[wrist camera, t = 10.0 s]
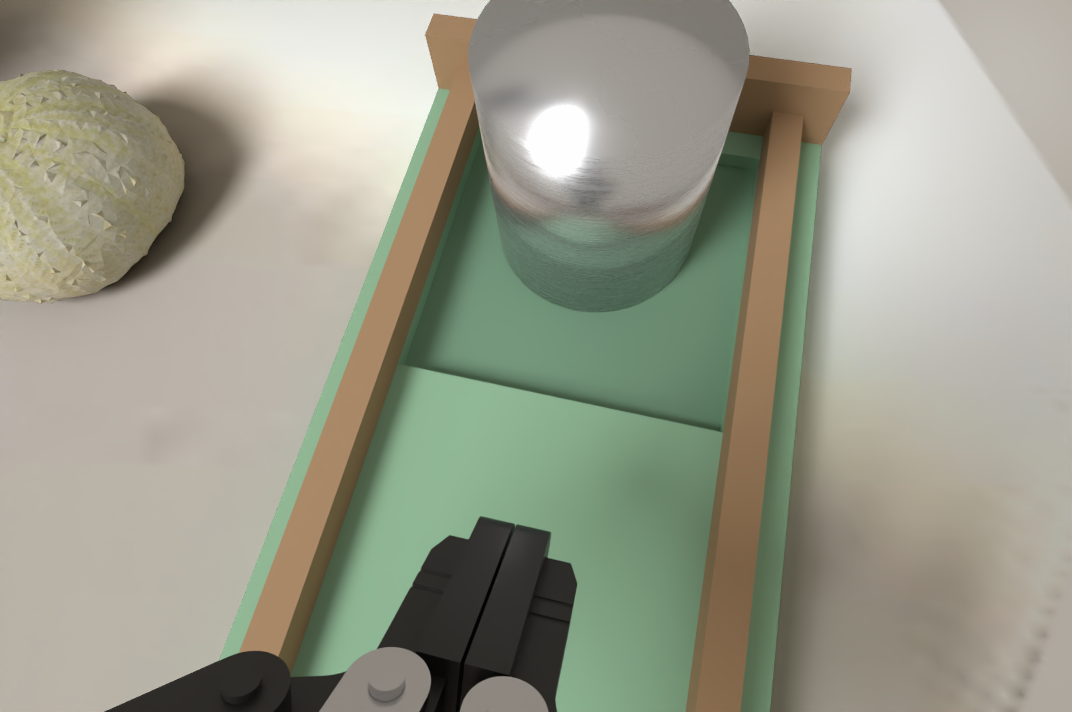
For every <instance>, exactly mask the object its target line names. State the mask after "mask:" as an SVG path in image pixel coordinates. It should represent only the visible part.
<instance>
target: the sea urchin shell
mask: <svg viewBox="0 0 1072 712" xmlns="http://www.w3.org/2000/svg"><path fill="white" fill-rule="evenodd" d="M184 164H185V162H184V160H183V158H182V154H181V153H179V150H178V148H177V146H176V144H175V143H174V141H173V140H172V139H171V137H170V135H169V133H168V131H167V130H166V126H165V125H163V124H162V123H161V121H160V118H159V116H157V115H154V114H152V113H151V112H150V111H149V109H148V108H146V107H144V106H143V105H141V104H139V103H138V102H137V101H135V100H134V99H133V98H131V97H130V96H129V95H127V93H126V92H122V91H120V90H118V89H117V88H116V87H115V85H108V84H106V83H104V82H103V81H101V80H96V79H92V78H89V77H86V76H83V75H80V74H77V73H74V72H68V71H65V70H58V69H54V70H52V71H51V70H49V71H39V72H29V73H26V74H25V75H22V74H20V75H19V77H17V78H14V79H11V80H7V81H0V299H1V300H5V301H6V300H15V301H34V302H37V303H38V302H39V303H42V302H48V303H53V302H55V301H57V300H63V299H67V298H71V297H78V296H83V295H87V294H91V293H97V292H98V291H99V290H100V289H102V288H104V287H105V286H107V285H110V284H112V283H114V282H117V281H118V280H119V279H120V278H121V277H122V276H124V275H125V274H126V273H127V271H128V270H129V269H130V268H131V267H132V265H133V264H135V263H136V262H138V261H139V260H140V259H141V258H142V257H143V256H145V255H147V254H148V250H149V248H150V246H151V244H152V243H153V241H154V240H155V238H156V237H157V235H158V234H159V233H160V232H161V231H162V230H163V229H164V228H165V227H166V225H168V222H171V221H172V214H173V213H174V211H175V208H176V205H177V203H178V201H179V198H180V196H181V194H182V192H183V190H184V176H185V172H184V169H185V167H184Z"/></svg>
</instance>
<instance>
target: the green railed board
mask: <svg viewBox="0 0 1072 712" xmlns="http://www.w3.org/2000/svg"><path fill="white" fill-rule="evenodd" d="M476 21H477V19H471V18H463V17H456V16H448V15H440V14H433V17H432V19H431V22H430V24H429V26H428V29H427V31H426V34H425V35H426V39H427V43H428V47H429V51H430V55H431V59H432V63H433V67H434V71H435V75H436V79H437V83H438V87H439V89H438V92H437V94H436V97H435V100H434V102H433V105H432V107H431V110H430V113H429V115H428V118H427V120H426V123H425V126H424V128H423V131H422V133H421V136H420V139H419V141H418V144H417V146H416V149H415V152H414V154H413V157H412V159H411V162H410V165H409V167H408V170H407V172H406V175H405V178H404V180H403V183H402V185H401V188H400V191H399V193H398V196H397V198H396V201H395V204H394V206H393V209H392V211H391V214H390V217H389V219H388V222H387V224H386V227H385V230H384V232H383V235H382V237H381V240H380V243H379V245H378V248H377V250H376V253H375V256H374V258H373V261H372V263H371V266H370V269H369V271H368V274H367V277H366V279H365V282H364V284H363V287H362V290H361V292H360V295H359V297H358V300H357V303H356V305H355V308H354V310H353V313H352V316H351V318H350V321H349V323H348V326H347V329H346V331H345V334H344V336H343V339H342V342H341V344H340V347H339V349H338V352H337V355H336V357H335V360H334V362H333V365H332V368H331V370H330V373H329V375H328V378H327V381H326V383H325V386H324V388H323V391H322V394H321V396H320V399H319V401H318V404H317V407H316V409H315V412H314V414H313V417H312V420H311V422H310V425H309V427H308V430H307V433H306V435H305V438H304V440H303V443H302V446H301V448H300V451H299V453H298V456H297V459H296V461H295V464H294V466H293V469H292V472H291V474H290V477H289V480H288V482H287V485H286V487H285V490H284V493H283V495H282V498H281V500H280V503H279V506H278V508H277V511H276V513H275V516H274V519H273V521H272V524H271V526H270V529H269V532H268V534H267V537H266V539H265V542H264V545H263V547H262V550H261V552H260V555H259V558H258V560H257V563H256V565H255V568H254V571H253V573H252V576H251V578H250V581H249V584H248V586H247V589H246V591H245V594H244V597H243V599H242V602H241V604H240V607H239V610H238V612H237V615H236V617H235V620H234V623H233V625H232V628H231V630H230V633H229V636H228V638H227V641H226V643H225V646H224V649H223V651H222V654H221V656H220V659H219V661H220V660H222V659H224V658H226V657H229V656H231V655H234V654H237V653H241V652H246V651H264V652H269V653H272V654H274V655H276V656H278V657H280V658H281V659H282V660H283V661H284V662H285V663H286V665H287V666H288V669H289V671H290V677H303V676H325V675H334V674H338V673H342V672H345V671H347V670H348V668H349V667H350V666H351V665H352V663H354V662H355V661H356V660H357V659H358V658H359V657H361V656H362V655H364V654H366V653H368V652H370V651H373V650H376V649H377V647H378V646H379V644H380V642H381V641H382V639H383V637H384V635H385V633H386V631H387V629H388V628H389V626H390V624H391V622H392V620H393V618H394V617H395V615H396V613H397V611H398V609H399V607H400V606H401V604H402V602H403V600H404V598H405V596H406V595H407V593H408V591H409V589H410V587H412V584H413V582H414V580H415V578H416V576H417V574H418V572H420V570H421V567H422V565H423V563H424V561H425V560H426V558H427V556H428V554H429V552H430V550H431V549H432V548H433V547H435V546H436V545H437V544H439V543H440V542H441V541H443V540H444V539H445V538H446V537H448V536H449V535H452V536H456V537H460V538H465V539H469V538H470V536H471V533H472V531H473V529H474V527H475V525H476V523H477V521H478V519H479V517H480V516H483V517H488V518H492V519H496V520H501V521H505V522H509V523H514V524H515V527H516V525H517V524H519V525H523V526H528V527H532V528H536V529H541V530H545V531H550V532H551V540H550V546H549V553H548V558H551V559H555V560H559V561H564V562H568V563H571V565H572V568H573V571H574V574H575V577H576V581H577V589H576V595H575V600H574V606H573V611H572V616H571V622H570V627H569V633H568V638H567V643H566V648H565V653H564V658H563V663H562V668H561V673H560V678H559V683H558V689H557V694H556V708H557V712H770V705H771V694H772V683H773V672H774V662H775V651H776V640H777V629H778V618H779V607H780V596H781V585H782V574H783V563H784V552H785V541H786V530H787V519H788V508H789V497H790V486H791V475H792V464H793V453H794V442H795V431H796V420H797V409H798V398H799V387H800V376H801V365H802V355H803V344H804V333H805V322H806V311H807V300H808V289H809V278H810V267H811V256H812V245H813V234H814V223H815V212H816V201H817V190H818V179H819V168H820V157H821V146H822V143H823V141H824V140H825V138H826V136H827V134H828V132H829V130H830V128H831V126H832V125H833V123H834V121H835V119H836V117H837V115H838V113H839V111H840V110H841V108H842V106H843V104H844V102H845V100H846V98H847V96H848V95H849V93H850V82H851V68H844V67H836V66H829V65H821V64H814V63H806V62H798V61H791V60H783V59H775V58H768V57H760V56H753V55H749V65H748V69H747V74H746V78H745V81H744V84H743V87H742V91H741V94H740V97H739V100H738V103H737V106H736V109H735V112H734V115H733V118H732V121H731V124H730V127H729V130H728V134H727V137H726V140H725V143H724V146H723V149H722V152H721V155H720V158H719V161H718V164H717V167H716V170H715V174H714V177H713V180H712V183H711V186H710V189H709V192H708V195H707V198H706V201H705V204H704V207H703V210H702V213H701V217H700V220H699V223H698V226H697V229H696V232H695V235H694V238H693V241H692V244H691V247H690V250H689V253H688V256H687V258H686V261H685V263H684V265H683V266H682V268H681V270H680V272H679V273H678V274H677V276H676V277H675V278H674V279H673V281H672V282H671V283H670V284H669V285H668V286H666V287H665V288H664V289H663V290H662V291H661V292H659V293H658V294H656V295H655V296H654V297H652V298H650V299H648V300H646V301H644V302H643V303H640V304H638V305H635V306H632V307H630V308H626V309H622V310H618V311H611V312H582V311H575V310H571V309H567V308H563V307H560V306H558V305H555V304H552V303H550V302H548V301H546V300H544V299H542V298H541V297H539V296H538V295H536V294H535V293H533V292H532V291H530V290H529V289H528V288H527V287H526V286H525V285H524V284H523V283H522V282H521V281H520V280H519V279H518V278H517V276H516V275H515V274H514V272H513V271H512V269H511V268H510V266H509V264H508V262H507V260H506V257H505V255H504V252H503V248H502V244H501V239H500V234H499V228H498V223H497V218H496V212H495V207H494V201H493V196H492V191H491V185H490V180H489V174H488V169H487V164H486V158H485V153H484V147H483V142H482V137H481V131H480V126H479V120H478V115H477V110H476V104H475V99H474V93H473V88H472V83H471V77H470V72H469V63H468V51H469V42H470V38H471V34H472V31H473V28H474V26H475V24H476Z"/></svg>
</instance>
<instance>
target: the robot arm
mask: <svg viewBox="0 0 1072 712" xmlns="http://www.w3.org/2000/svg"><path fill="white" fill-rule="evenodd" d="M550 540H551V532H550V531H545V530H541V529H536V528H532V527H528V526H523V525H519V524H517V525H516V527H515V524H514V523H509V522H505V521H501V520H496V519H492V518H488V517H483V516H480V517H479V519H478V521H477V523H476V525H475V527H474V529H473V531H472V533H471V536H470V538H469V539H465V538H460V537H456V536H452V535H449V536H448V537H446V538H445V539H444V540H443V541H441V542H440V543H439V544H437V545H436V546H435V547H433V548H432V549H431V550H430V552H429V554H428V556H427V558H426V560H425V561H424V563H423V565H422V567H421V570H420V572H418V574H417V576H416V578H415V580H414V582H413V584H412V587H410V589H409V591H408V593H407V595H406V596H405V598H404V600H403V602H402V604H401V606H400V607H399V609H398V611H397V613H396V615H395V617H394V618H393V620H392V622H391V624H390V626H389V628H388V629H387V631H386V633H385V635H384V637H383V639H382V641H381V642H380V644H379V646H378V647H377V649H376V650H373V651H370V652H368V653H366V654H364V655H362V656H361V657H359V658H358V659H357V660H356V661H355V662H354V663H352V665H351V666H350V667H349V668H348V670H347V671H345V672H342V673H338V674H334V675H325V676H303V677H290V671H289V669H288V666H287V665H286V663H285V662H284V661H283V660H282V659H281V658H280V657H278V656H276V655H274V654H272V653H269V652H264V651H246V652H241V653H237V654H234V655H231V656H229V657H226V658H224V659H222V660H220V661H217V662H215V663H213V664H211V665H208V666H206V667H204V668H202V669H199V670H197V671H195V672H193V673H190V674H188V675H186V676H184V677H181V678H179V679H177V680H175V681H172V682H170V683H168V684H166V685H163V686H161V687H159V688H157V689H154V690H152V691H150V692H148V693H145V694H143V695H141V696H139V697H136V698H134V699H132V700H130V701H127V702H125V703H123V704H121V705H119V706H116V707H114V708H112V709H110V710H107V711H105V712H557V708H556V694H557V689H558V683H559V678H560V673H561V668H562V663H563V658H564V653H565V648H566V643H567V638H568V633H569V627H570V622H571V616H572V611H573V606H574V600H575V595H576V589H577V581H576V577H575V574H574V571H573V568H572V565H571V563H568V562H564V561H559V560H555V559H551V558H548V553H549V546H550Z"/></svg>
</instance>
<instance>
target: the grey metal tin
mask: <svg viewBox="0 0 1072 712" xmlns="http://www.w3.org/2000/svg"><path fill="white" fill-rule="evenodd" d="M468 63H469V72H470V77H471V83H472V88H473V93H474V99H475V104H476V110H477V115H478V120H479V126H480V131H481V137H482V142H483V147H484V153H485V158H486V164H487V169H488V174H489V180H490V185H491V191H492V196H493V201H494V207H495V212H496V218H497V223H498V228H499V234H500V239H501V244H502V248H503V252H504V255H505V257H506V260H507V262H508V264H509V266H510V268H511V269H512V271H513V272H514V274H515V275H516V276H517V278H518V279H519V280H520V281H521V282H522V283H523V284H524V285H525V286H526V287H527V288H528V289H529V290H530V291H532V292H533V293H535V294H536V295H538V296H539V297H541V298H542V299H544V300H546V301H548V302H550V303H552V304H555V305H558V306H560V307H563V308H567V309H571V310H575V311H582V312H611V311H618V310H622V309H626V308H630V307H632V306H635V305H638V304H640V303H643V302H644V301H646V300H648V299H650V298H652V297H654V296H655V295H656V294H658V293H659V292H661V291H662V290H663V289H664V288H665V287H666V286H668V285H669V284H670V283H671V282H672V281H673V279H674V278H675V277H676V276H677V274H678V273H679V272H680V270H681V268H682V266H683V265H684V263H685V261H686V258H687V256H688V253H689V250H690V247H691V244H692V241H693V238H694V235H695V232H696V229H697V226H698V223H699V220H700V217H701V213H702V210H703V207H704V204H705V201H706V198H707V195H708V192H709V189H710V186H711V183H712V180H713V177H714V174H715V170H716V167H717V164H718V161H719V158H720V155H721V152H722V149H723V146H724V143H725V140H726V137H727V134H728V130H729V127H730V124H731V121H732V118H733V115H734V112H735V109H736V106H737V103H738V100H739V97H740V94H741V91H742V87H743V84H744V81H745V78H746V74H747V69H748V65H749V44H748V38H747V34H746V31H745V28H744V25H743V22H742V20H741V18H740V16H739V14H738V13H737V11H736V9H735V8H734V7H733V5H732V4H731V3H730V1H729V0H490V2H489V3H488V4H487V5H486V6H485V8H484V9H483V11H482V13H481V14H480V16H479V17H478V19H477V21H476V24H475V26H474V28H473V31H472V34H471V38H470V42H469V51H468Z"/></svg>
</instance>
